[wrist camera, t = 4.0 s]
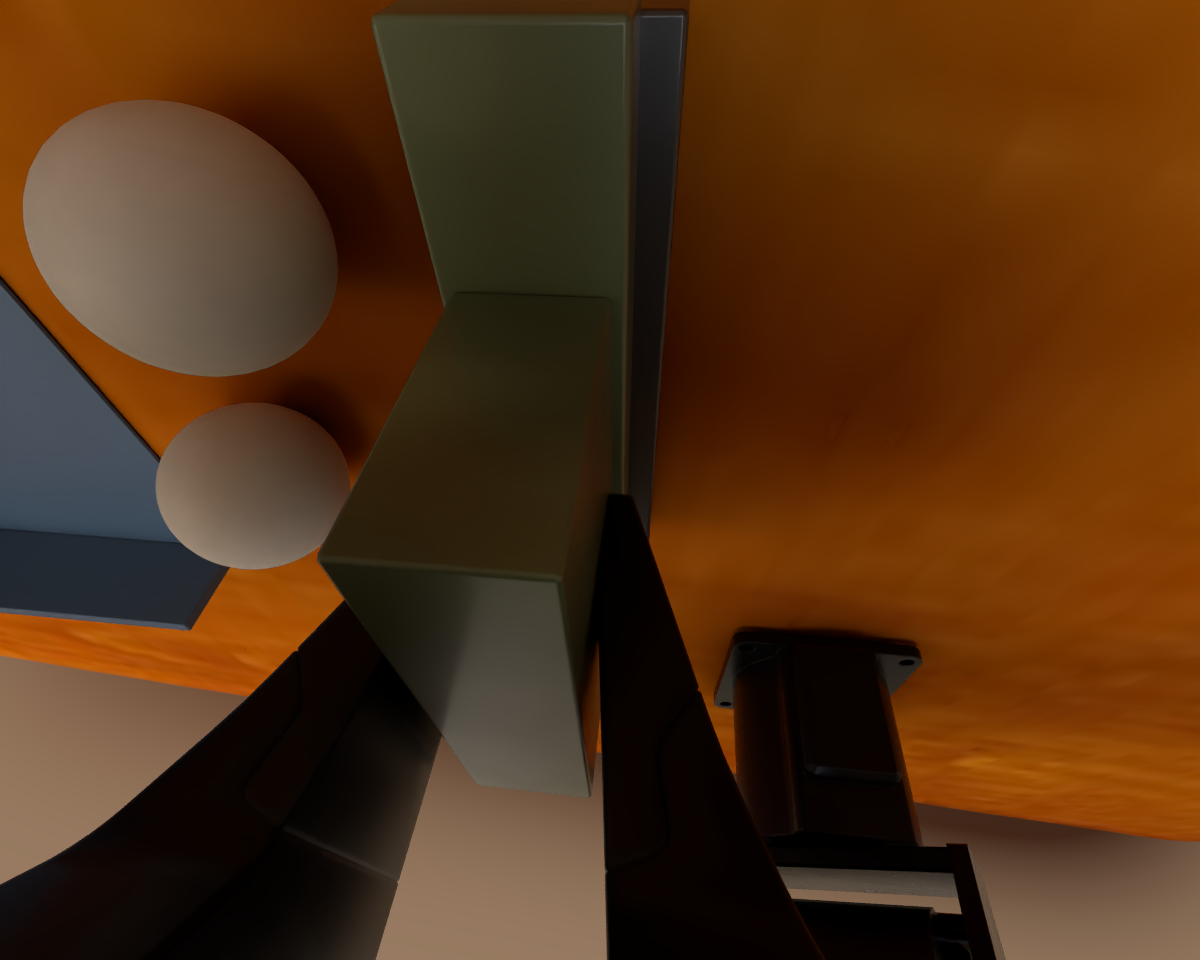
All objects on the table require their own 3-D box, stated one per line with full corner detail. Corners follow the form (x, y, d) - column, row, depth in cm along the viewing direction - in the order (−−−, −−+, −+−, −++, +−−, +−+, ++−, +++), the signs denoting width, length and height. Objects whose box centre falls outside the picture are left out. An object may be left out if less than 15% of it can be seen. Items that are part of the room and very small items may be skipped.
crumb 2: (392, 483, 16) (335, 607, 14) (262, 474, 17) (182, 593, 14) (342, 372, 13) (257, 503, 11) (184, 364, 14) (64, 489, 11)
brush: (691, -42, 7) (689, 232, 2) (648, 546, 16) (630, 834, 12) (419, -38, 7) (-85, 208, 3) (530, 536, 16) (466, 814, 12)
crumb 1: (399, 298, 12) (315, 434, 9) (218, 291, 12) (86, 419, 9) (324, 65, 9) (166, 166, 6) (85, 64, 9) (-161, 159, 6)
